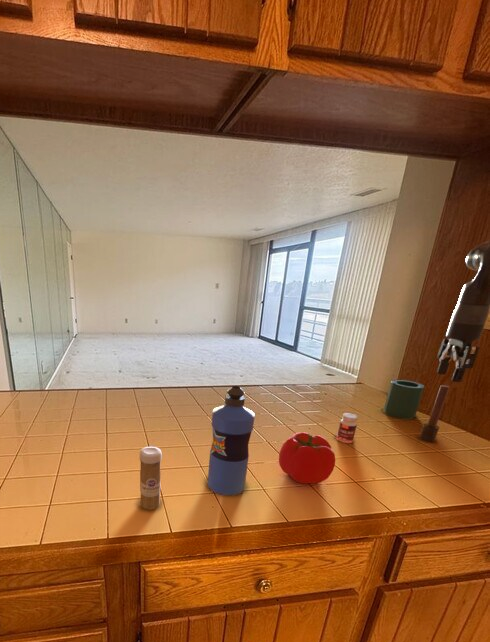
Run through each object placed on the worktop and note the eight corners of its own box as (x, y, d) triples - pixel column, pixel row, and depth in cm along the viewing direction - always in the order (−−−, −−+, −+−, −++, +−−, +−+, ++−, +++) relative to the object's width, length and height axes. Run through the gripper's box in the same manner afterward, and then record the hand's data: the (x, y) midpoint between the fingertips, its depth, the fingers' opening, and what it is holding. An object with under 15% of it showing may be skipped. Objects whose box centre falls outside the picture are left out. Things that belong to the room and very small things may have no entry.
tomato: (282, 458, 97) (288, 424, 93) (333, 471, 91) (342, 435, 87) (269, 481, 87) (275, 443, 83) (326, 497, 80) (336, 458, 76)
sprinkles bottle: (144, 512, 74) (144, 457, 69) (137, 500, 78) (136, 447, 73) (163, 507, 76) (165, 453, 71) (155, 496, 80) (156, 444, 75)
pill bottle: (336, 441, 108) (342, 417, 105) (335, 435, 112) (341, 411, 109) (353, 444, 106) (359, 419, 103) (352, 438, 110) (358, 414, 107)
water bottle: (219, 499, 79) (229, 396, 69) (200, 479, 87) (206, 383, 77) (253, 490, 82) (267, 391, 73) (231, 471, 90) (241, 379, 81)
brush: (430, 438, 112) (449, 384, 105) (436, 443, 108) (456, 388, 101) (416, 436, 113) (434, 383, 106) (422, 442, 109) (440, 387, 102)
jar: (408, 410, 135) (417, 381, 130) (419, 420, 126) (429, 389, 121) (379, 408, 137) (387, 379, 132) (388, 417, 128) (397, 386, 123)
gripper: (500, 325, 89) (476, 385, 95) (468, 319, 102) (449, 372, 108) (466, 324, 91) (446, 383, 97) (439, 318, 103) (423, 370, 110)
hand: (448, 377), depth 103 cm, fingers open, 8 cm apart
